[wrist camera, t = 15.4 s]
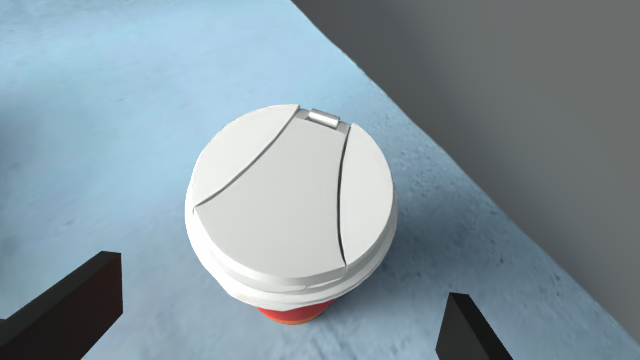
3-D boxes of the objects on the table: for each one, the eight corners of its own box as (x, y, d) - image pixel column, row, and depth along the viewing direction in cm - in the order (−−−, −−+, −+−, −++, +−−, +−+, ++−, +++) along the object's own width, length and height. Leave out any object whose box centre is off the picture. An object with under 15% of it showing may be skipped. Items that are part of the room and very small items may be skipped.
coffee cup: (265, 214, 28) (241, 70, 15) (362, 250, 27) (428, 130, 14) (213, 318, 24) (119, 245, 11) (326, 365, 23) (372, 347, 10)
